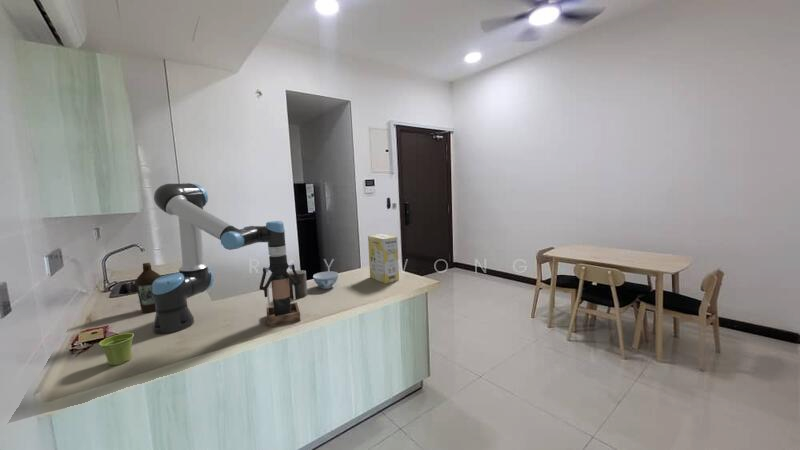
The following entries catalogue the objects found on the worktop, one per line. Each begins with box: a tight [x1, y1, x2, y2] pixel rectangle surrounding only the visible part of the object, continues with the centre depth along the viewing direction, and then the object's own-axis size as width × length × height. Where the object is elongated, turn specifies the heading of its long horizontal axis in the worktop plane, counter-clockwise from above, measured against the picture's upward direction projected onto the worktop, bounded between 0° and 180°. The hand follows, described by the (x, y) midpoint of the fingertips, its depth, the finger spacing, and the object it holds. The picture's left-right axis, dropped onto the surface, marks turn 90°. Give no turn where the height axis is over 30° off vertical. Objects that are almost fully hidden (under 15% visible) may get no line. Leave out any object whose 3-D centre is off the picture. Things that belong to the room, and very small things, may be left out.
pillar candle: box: [288, 269, 308, 300], centre depth 176 cm, size 10×10×15 cm
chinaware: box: [312, 270, 339, 290], centre depth 190 cm, size 15×15×8 cm
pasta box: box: [367, 233, 400, 285], centre depth 201 cm, size 18×10×28 cm, turn 37°
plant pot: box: [98, 332, 135, 366], centre depth 114 cm, size 9×9×9 cm
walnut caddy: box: [266, 302, 301, 328], centre depth 147 cm, size 14×14×4 cm
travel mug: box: [270, 274, 291, 316], centre depth 146 cm, size 8×8×20 cm
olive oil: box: [135, 262, 162, 314], centre depth 163 cm, size 11×11×25 cm
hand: (281, 301), depth 146 cm, fingers open, 10 cm apart
